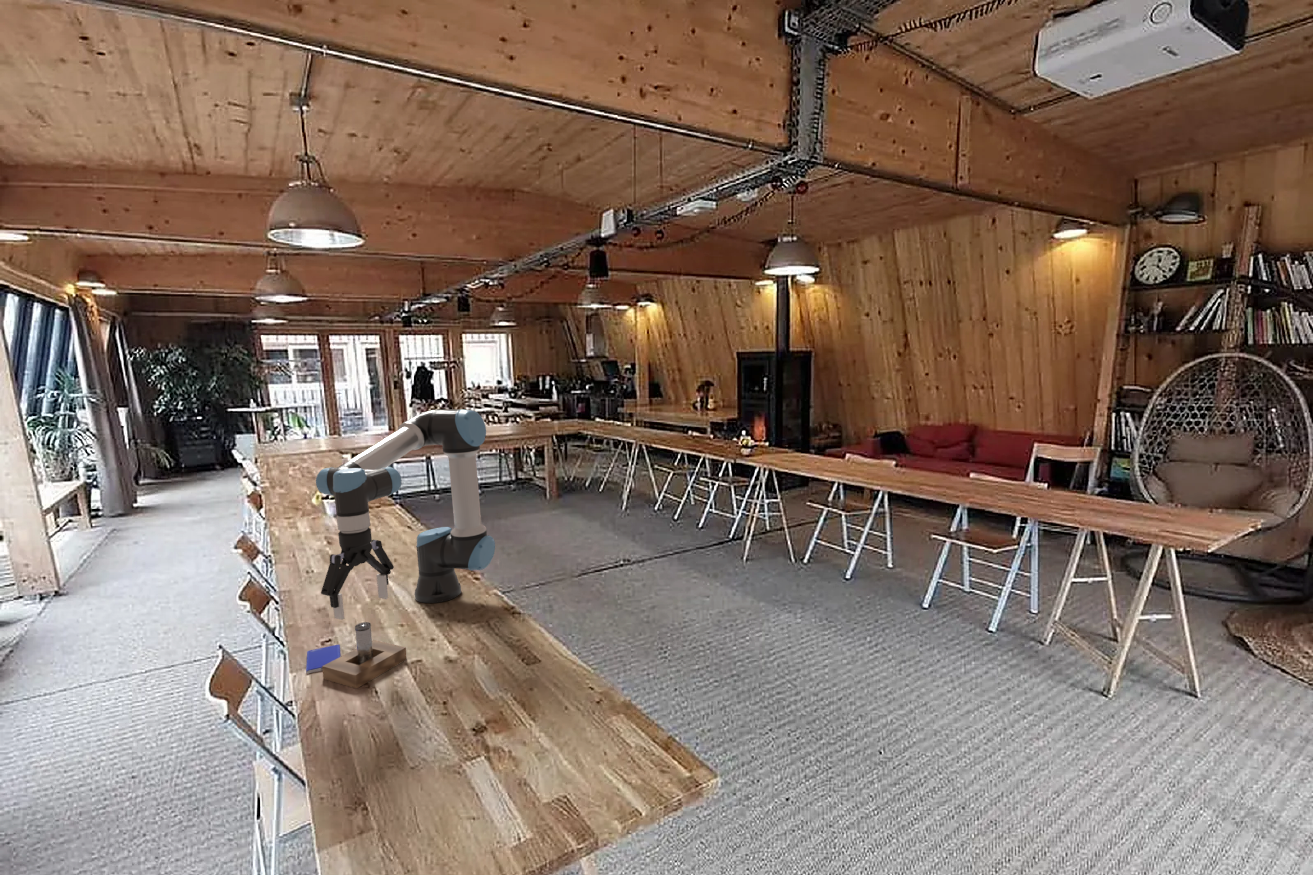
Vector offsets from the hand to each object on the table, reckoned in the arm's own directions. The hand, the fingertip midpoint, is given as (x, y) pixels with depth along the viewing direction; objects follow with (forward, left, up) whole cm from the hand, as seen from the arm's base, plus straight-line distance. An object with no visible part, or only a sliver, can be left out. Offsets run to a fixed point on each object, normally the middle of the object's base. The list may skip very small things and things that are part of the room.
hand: (362, 607), depth 160 cm
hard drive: (+1, -15, -18) cm, 23 cm away
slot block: (0, 0, -17) cm, 17 cm away
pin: (0, 0, -17) cm, 17 cm away
